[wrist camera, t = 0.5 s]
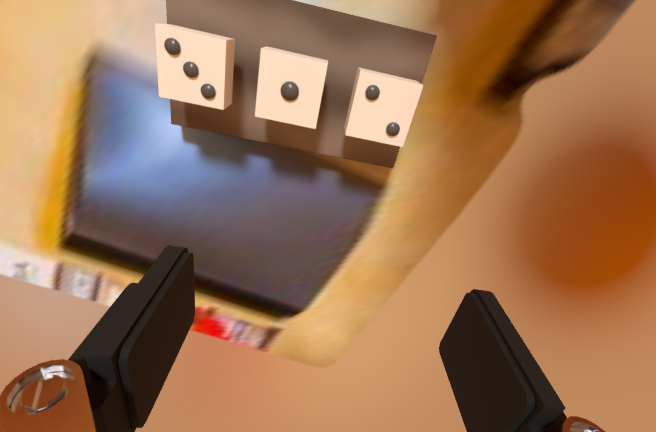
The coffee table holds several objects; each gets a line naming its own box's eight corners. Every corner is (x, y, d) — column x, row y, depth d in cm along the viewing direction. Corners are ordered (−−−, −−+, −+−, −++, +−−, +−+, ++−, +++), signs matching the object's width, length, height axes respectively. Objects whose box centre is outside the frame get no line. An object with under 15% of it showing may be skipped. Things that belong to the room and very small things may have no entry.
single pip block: (266, 46, 26) (260, 48, 23) (328, 60, 26) (328, 63, 24) (260, 109, 28) (254, 116, 26) (316, 121, 29) (315, 129, 26)
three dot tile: (170, 24, 25) (153, 23, 23) (235, 39, 25) (225, 40, 23) (172, 90, 27) (158, 96, 25) (231, 103, 28) (222, 110, 26)
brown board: (175, -28, 26) (164, -31, 25) (430, 35, 28) (436, 35, 27) (179, 118, 32) (171, 123, 31) (389, 161, 34) (393, 168, 33)
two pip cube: (358, 67, 26) (360, 71, 24) (416, 80, 27) (424, 85, 25) (344, 127, 29) (345, 135, 27) (397, 138, 29) (403, 147, 27)
